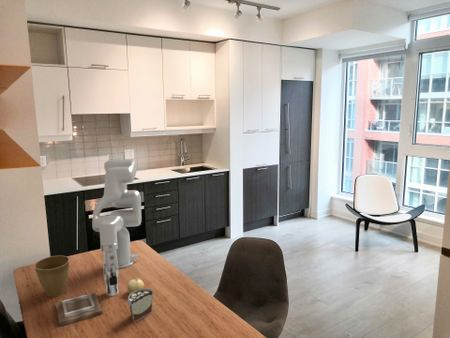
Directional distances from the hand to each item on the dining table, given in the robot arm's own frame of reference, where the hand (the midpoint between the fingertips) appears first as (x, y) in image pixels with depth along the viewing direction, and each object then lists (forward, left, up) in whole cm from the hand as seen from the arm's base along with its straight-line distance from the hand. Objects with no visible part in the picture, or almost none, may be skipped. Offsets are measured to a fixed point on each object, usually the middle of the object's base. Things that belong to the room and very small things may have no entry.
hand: (111, 280), depth 164 cm
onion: (-10, +5, -7) cm, 13 cm away
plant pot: (+24, -14, -7) cm, 29 cm away
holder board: (+16, +7, -7) cm, 18 cm away
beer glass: (0, 0, -7) cm, 7 cm away
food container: (-6, +24, -7) cm, 25 cm away
